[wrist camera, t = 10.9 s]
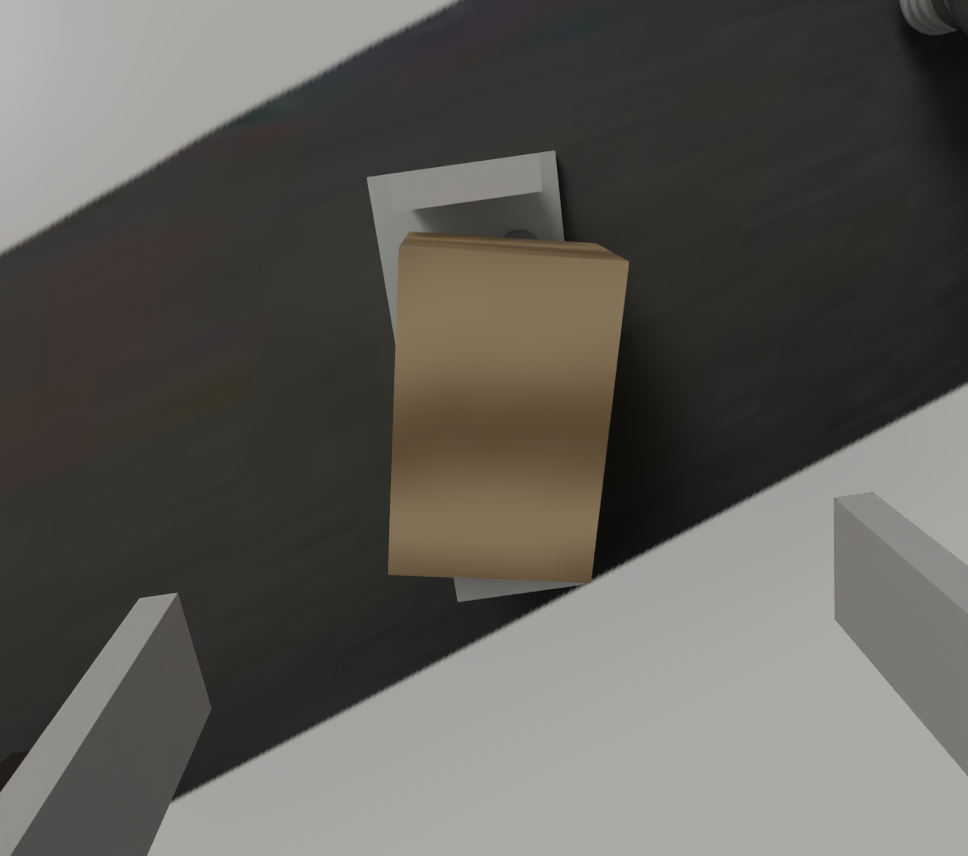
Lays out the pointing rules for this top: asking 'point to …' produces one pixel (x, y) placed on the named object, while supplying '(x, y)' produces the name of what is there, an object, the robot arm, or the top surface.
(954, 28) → the light bulb
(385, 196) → the peg stand
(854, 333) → the top surface
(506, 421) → the wooden block
